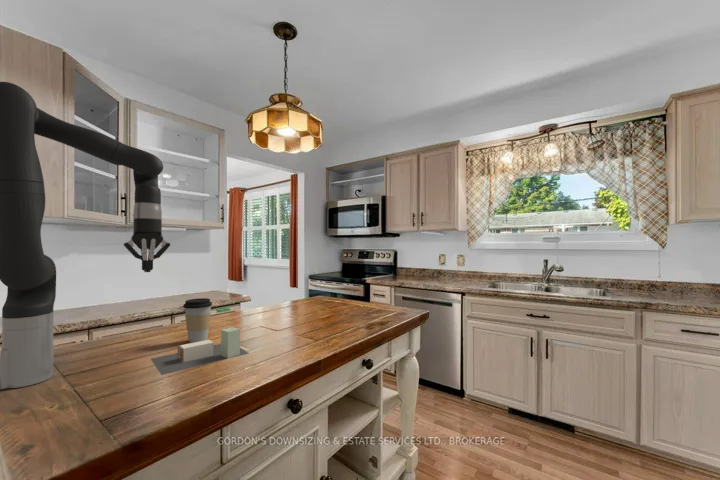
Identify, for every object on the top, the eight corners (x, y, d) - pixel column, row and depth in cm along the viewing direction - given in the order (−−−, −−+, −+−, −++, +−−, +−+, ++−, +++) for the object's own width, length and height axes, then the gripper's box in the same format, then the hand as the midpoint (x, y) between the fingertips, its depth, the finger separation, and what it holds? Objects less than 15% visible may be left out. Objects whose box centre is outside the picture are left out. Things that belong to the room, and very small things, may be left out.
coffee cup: (217, 338, 118) (217, 298, 119) (202, 346, 109) (202, 302, 109) (193, 337, 119) (193, 297, 120) (176, 345, 110) (176, 302, 110)
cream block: (181, 349, 93) (213, 342, 99) (177, 345, 96) (209, 339, 102) (181, 362, 93) (213, 355, 99) (177, 359, 96) (209, 352, 102)
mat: (161, 377, 84) (161, 374, 84) (150, 360, 96) (150, 358, 96) (249, 355, 100) (249, 353, 101) (230, 343, 112) (230, 341, 112)
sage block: (227, 358, 96) (227, 332, 96) (221, 355, 99) (221, 329, 99) (239, 354, 99) (239, 329, 99) (232, 352, 102) (232, 327, 102)
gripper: (123, 216, 94) (122, 274, 94) (173, 218, 103) (173, 271, 103) (121, 217, 100) (120, 272, 100) (169, 219, 109) (168, 270, 109)
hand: (147, 271), depth 101 cm, fingers closed
